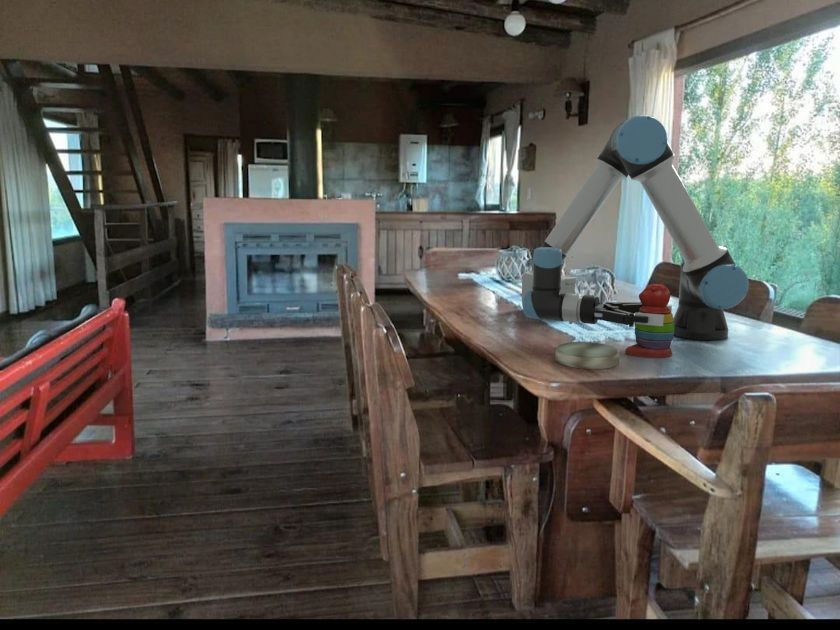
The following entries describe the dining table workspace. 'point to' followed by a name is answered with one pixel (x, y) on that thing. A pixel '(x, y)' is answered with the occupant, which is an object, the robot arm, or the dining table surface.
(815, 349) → the dining table surface
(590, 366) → the stand
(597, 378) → the dining table surface
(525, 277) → the stereo radio cassette player
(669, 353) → the stacking bear
